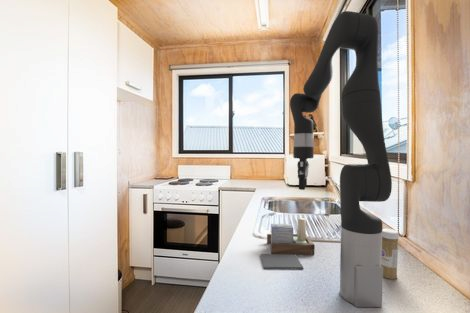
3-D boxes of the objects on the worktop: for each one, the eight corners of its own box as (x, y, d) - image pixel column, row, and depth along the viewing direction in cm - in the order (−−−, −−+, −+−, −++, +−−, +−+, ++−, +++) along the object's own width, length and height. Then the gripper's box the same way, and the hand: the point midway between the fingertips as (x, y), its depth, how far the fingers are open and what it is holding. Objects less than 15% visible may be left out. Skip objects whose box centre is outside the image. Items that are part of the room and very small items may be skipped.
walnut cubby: (314, 254, 92) (314, 244, 91) (271, 254, 91) (271, 244, 91) (305, 243, 103) (305, 234, 103) (267, 242, 103) (267, 233, 103)
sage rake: (308, 251, 94) (308, 221, 93) (296, 251, 94) (296, 221, 93) (302, 244, 101) (303, 216, 100) (291, 244, 101) (292, 216, 100)
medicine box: (291, 246, 99) (292, 224, 99) (293, 251, 94) (293, 227, 94) (270, 245, 100) (271, 223, 99) (271, 250, 95) (271, 226, 95)
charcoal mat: (303, 269, 80) (303, 267, 80) (264, 269, 80) (264, 267, 80) (295, 255, 90) (295, 254, 90) (260, 255, 90) (260, 254, 90)
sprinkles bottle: (375, 273, 78) (377, 228, 77) (386, 271, 79) (387, 227, 79) (390, 280, 73) (391, 233, 73) (401, 278, 75) (402, 231, 75)
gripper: (312, 145, 92) (312, 191, 92) (314, 146, 105) (313, 186, 105) (291, 145, 94) (290, 190, 94) (295, 146, 108) (294, 185, 108)
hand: (302, 188), depth 100 cm, fingers open, 8 cm apart
